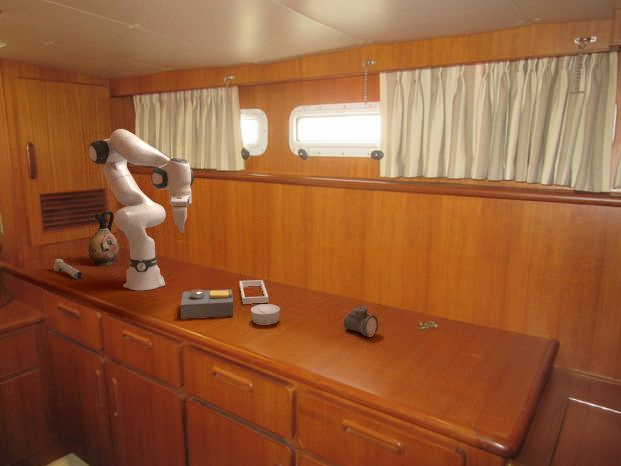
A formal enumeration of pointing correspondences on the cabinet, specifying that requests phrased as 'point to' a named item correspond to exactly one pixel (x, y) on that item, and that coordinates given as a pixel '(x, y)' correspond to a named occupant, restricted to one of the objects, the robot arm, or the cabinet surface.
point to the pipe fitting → (361, 321)
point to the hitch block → (206, 306)
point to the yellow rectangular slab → (221, 294)
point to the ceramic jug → (103, 241)
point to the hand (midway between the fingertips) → (181, 232)
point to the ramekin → (265, 314)
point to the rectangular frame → (253, 299)
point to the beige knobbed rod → (67, 269)
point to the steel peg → (197, 294)
